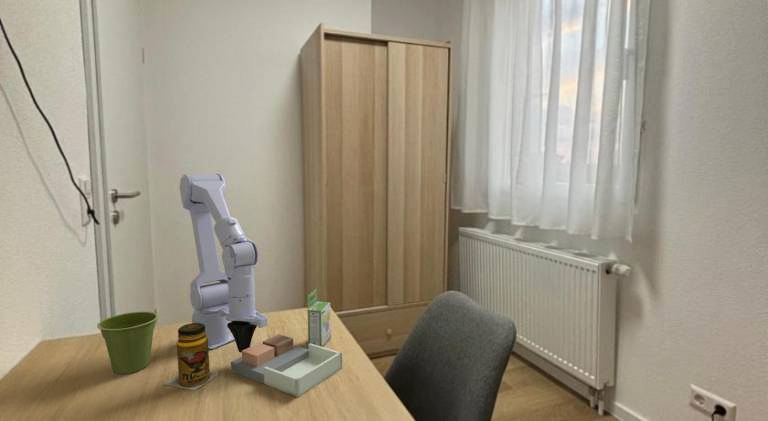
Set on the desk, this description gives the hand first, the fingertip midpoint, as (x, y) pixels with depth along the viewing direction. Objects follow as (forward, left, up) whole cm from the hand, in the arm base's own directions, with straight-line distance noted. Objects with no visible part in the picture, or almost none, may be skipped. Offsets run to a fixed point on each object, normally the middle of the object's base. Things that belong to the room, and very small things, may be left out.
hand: (244, 350), depth 96 cm
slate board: (+6, +3, -3) cm, 7 cm away
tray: (+16, +3, -3) cm, 17 cm away
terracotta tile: (+5, 0, -1) cm, 5 cm away
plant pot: (-21, -15, -3) cm, 26 cm away
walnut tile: (+5, +6, -1) cm, 8 cm away
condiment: (-4, -11, -3) cm, 12 cm away
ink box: (+7, +18, -3) cm, 20 cm away
